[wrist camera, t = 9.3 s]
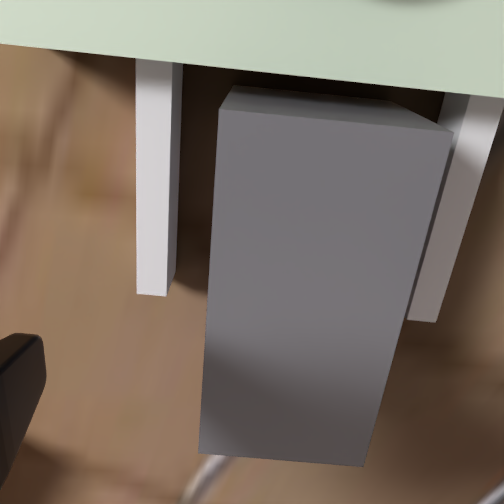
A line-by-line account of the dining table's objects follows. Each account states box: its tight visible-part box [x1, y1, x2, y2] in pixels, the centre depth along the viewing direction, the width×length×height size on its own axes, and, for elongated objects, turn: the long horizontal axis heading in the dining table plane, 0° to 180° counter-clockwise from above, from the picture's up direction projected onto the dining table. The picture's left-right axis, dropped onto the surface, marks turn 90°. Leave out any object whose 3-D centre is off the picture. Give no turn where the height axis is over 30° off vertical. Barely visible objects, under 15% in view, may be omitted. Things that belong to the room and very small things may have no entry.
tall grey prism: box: [198, 85, 454, 467], centre depth 12 cm, size 4×8×4 cm, turn 175°
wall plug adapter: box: [0, 0, 504, 323], centre depth 9 cm, size 14×13×4 cm
